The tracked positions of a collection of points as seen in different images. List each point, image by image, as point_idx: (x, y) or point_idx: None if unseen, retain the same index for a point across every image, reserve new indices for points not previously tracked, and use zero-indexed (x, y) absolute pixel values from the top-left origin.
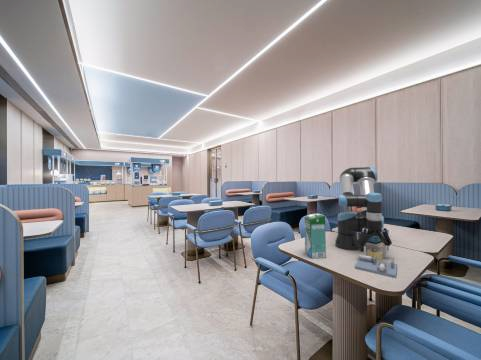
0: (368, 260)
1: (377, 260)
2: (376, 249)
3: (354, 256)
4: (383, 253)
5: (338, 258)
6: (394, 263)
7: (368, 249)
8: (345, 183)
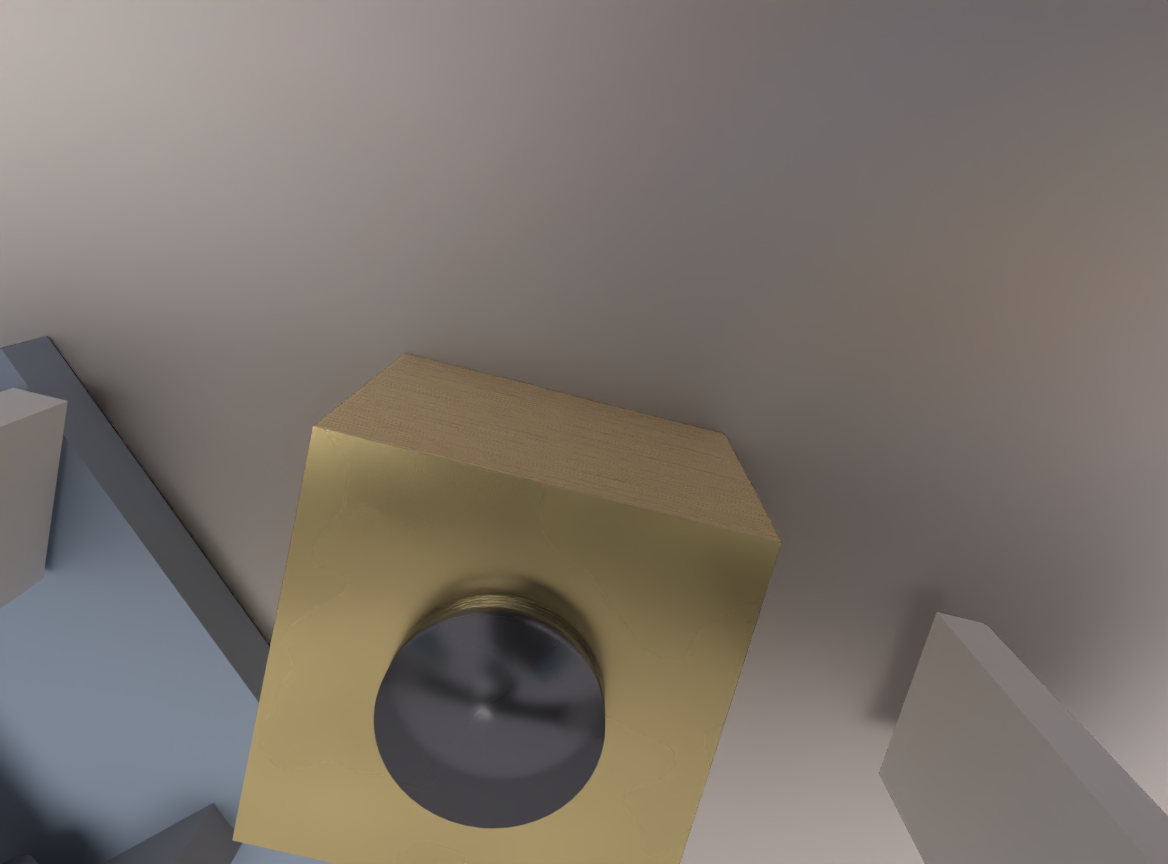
0: (9, 718)
1: None
2: (590, 771)
3: (18, 66)
4: (956, 698)
5: None
6: None
7: (344, 482)
8: None
